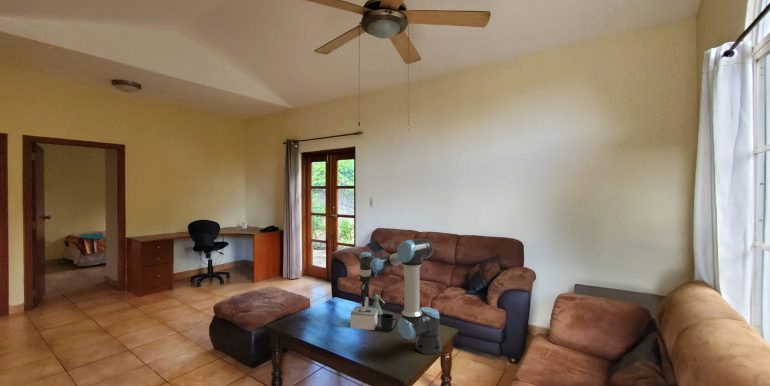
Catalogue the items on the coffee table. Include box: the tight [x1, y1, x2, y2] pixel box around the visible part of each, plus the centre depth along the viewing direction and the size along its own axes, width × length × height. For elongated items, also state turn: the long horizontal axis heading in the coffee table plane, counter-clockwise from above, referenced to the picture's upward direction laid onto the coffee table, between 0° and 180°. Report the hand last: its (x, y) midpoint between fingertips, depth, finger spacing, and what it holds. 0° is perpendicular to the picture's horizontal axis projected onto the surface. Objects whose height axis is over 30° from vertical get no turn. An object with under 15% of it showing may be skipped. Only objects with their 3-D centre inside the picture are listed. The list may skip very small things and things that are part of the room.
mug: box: [380, 313, 399, 333], centre depth 212 cm, size 8×12×10 cm
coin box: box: [350, 306, 378, 331], centre depth 219 cm, size 16×12×10 cm
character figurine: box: [368, 291, 386, 318], centre depth 236 cm, size 16×8×18 cm, turn 65°
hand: (364, 308), depth 219 cm, fingers open, 8 cm apart
